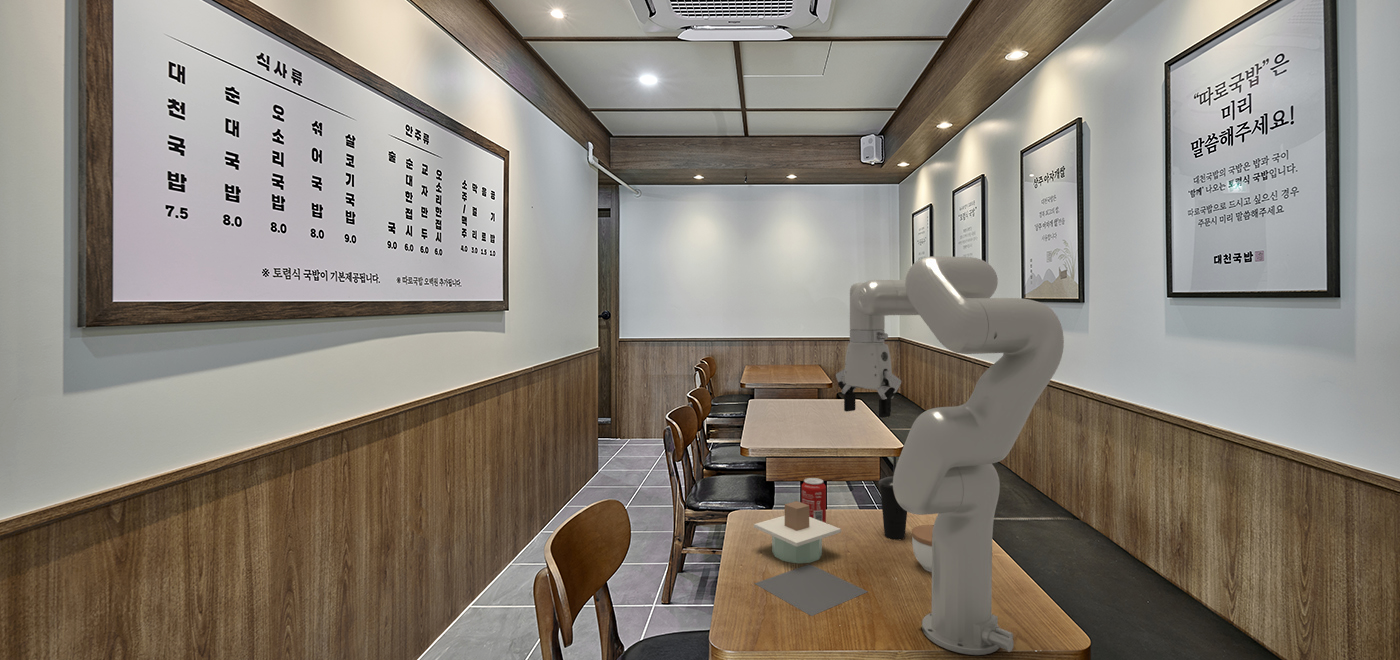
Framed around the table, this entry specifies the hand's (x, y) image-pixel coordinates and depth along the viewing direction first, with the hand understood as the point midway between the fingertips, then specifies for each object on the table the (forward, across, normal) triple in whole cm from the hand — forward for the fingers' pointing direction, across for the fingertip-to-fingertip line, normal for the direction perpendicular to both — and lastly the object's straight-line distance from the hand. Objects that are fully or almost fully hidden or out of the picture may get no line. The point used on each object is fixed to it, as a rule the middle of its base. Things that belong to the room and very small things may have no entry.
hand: (866, 413), depth 133 cm
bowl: (+33, +11, +11) cm, 37 cm away
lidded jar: (+34, -12, -9) cm, 37 cm away
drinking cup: (+34, +5, -17) cm, 38 cm away
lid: (+27, +11, +11) cm, 31 cm away
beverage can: (+34, +22, -6) cm, 41 cm away
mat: (+33, -3, +21) cm, 39 cm away
